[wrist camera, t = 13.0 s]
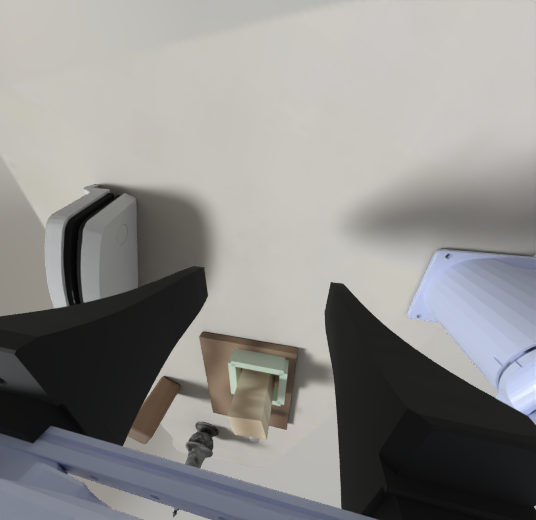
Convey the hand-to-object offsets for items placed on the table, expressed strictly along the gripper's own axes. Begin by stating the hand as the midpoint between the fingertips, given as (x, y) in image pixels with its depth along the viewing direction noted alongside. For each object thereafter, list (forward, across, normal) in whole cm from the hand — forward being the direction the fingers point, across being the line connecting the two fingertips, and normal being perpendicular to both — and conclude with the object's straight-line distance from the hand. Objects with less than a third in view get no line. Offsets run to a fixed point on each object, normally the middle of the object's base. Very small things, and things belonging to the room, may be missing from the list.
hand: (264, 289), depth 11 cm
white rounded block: (+10, +20, +5) cm, 23 cm away
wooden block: (+10, +20, +32) cm, 39 cm away
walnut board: (+10, +4, +26) cm, 28 cm away
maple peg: (+9, +2, +21) cm, 23 cm away
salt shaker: (+10, +14, +46) cm, 49 cm away
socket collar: (+9, +2, +21) cm, 23 cm away
